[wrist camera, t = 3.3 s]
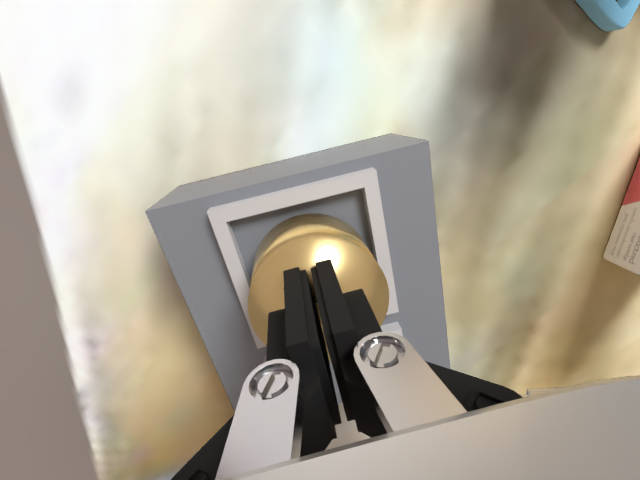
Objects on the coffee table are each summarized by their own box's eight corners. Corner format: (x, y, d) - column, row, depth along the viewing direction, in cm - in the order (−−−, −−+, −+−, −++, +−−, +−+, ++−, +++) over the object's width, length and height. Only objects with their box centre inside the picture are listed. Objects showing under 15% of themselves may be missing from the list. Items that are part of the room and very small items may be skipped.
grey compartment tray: (431, 430, 28) (466, 504, 22) (290, 468, 27) (292, 552, 22) (391, 133, 18) (434, 142, 13) (179, 185, 18) (139, 215, 13)
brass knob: (376, 301, 16) (398, 343, 13) (272, 328, 15) (270, 376, 13) (357, 200, 14) (377, 222, 11) (238, 230, 14) (227, 261, 11)
